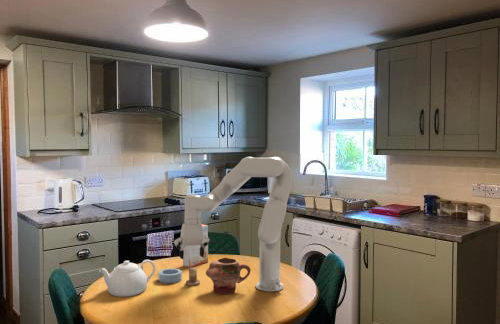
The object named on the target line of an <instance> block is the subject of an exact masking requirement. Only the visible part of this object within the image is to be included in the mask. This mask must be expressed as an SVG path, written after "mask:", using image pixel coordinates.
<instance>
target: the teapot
mask: <svg viewBox="0 0 500 324" xmlns="http://www.w3.org/2000/svg"><path fill="white" fill-rule="evenodd" d="M145 263H150V264H151V265H152V271H151V273H150V274H149V275H148V276H147V274H146V272H145V271H144V264H145ZM155 272H156V265H155V263H154V261H152V260H150V259H144V260H143V261H142V262H141V263H140V265H139V264H137V263H134V262H130V260H124V261H123V263H120V264H118V265H116V267H115V266H114V268H113V270H112V271H111V272H110V273H109V272H108V270H107V269H106V268H103V267H100V269H99V270H98V273H102V276H103V281H104V283H105V285H106V287H107V291H108V293H109V294H110V295H112V296H113V297H121V298H124V297H133V296H136V295H139V294H142V293H143V292H145V291H146V289H147V287H148V283H149V280H150V279H151V278H152V276H153V275H154V274H155Z"/></svg>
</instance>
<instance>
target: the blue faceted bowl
mask: <svg viewBox="0 0 500 324" xmlns="http://www.w3.org/2000/svg"><path fill="white" fill-rule="evenodd" d="M157 273H158V277H157V278H158V282H159V283H160V284H167V285H170V284H172V285H173V284H176V283H179V282H181V281H182V278H183V271H182V270H181V269H180V268H173V267H172V268H164V269H161V270H159V271H158V272H157Z"/></svg>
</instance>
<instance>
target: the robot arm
mask: <svg viewBox="0 0 500 324" xmlns="http://www.w3.org/2000/svg"><path fill="white" fill-rule="evenodd" d="M251 178H272V179H273V181H272V185H271V189H270V192H269V196H268V199H267V201H266V203H265V204H264V207H263V211H262V215H261V220H260V222H259V226H258V230H257V236H258V239H259V261H258V262H259V263H258V264H259V266H258V267H259V268H258V269H259V270H258V273H259V274H258V280H259V281H258V282H257V283H255V288H256V289H257V290H259V291H263V292H269V293H270V292H271V293H273V292H279V291H281V290H283V288H284V284H283V282H281V238H282V237H281V235H282V234H281V233H282V232H281V231H282V228H283V225H284V221H285V217H286V213H287V204H288V201H289V197H290V192H291V188H292V185H293V184H292V183H293V175H292V171H291V169H290V167H289V165H288V164H287V163H286V162H285V161H284V159H282V158H281V157H279V156H273V157H253V156H246V157H244V158H242V159H241V160H240V162H239V163H237V164H236V166H234V167H233V168H232V170H230V171H229V172H228V173H227V174H225V176H224V177H223V178H222V180H221V182H220V183H219V184H218V185H217V186H216V187H214V188H213V189H212V190H211V191H210V192H209V193H208V194H206V195H204V196H203V195H202V196H201V195H199V194H194V193H193V194H192V193H191V194H187V195H186V196H185V197H184V222H183V224H182V226H181V231H180V237H178V238H176V239H175V240H174V241H173V243H174V246H175V247H176V248H177V249H178V250H179V251H178V252H179V253H178V254H179V258H180V259H181V260H183V259H184V251H183V249H184V247H185V246H195V245H200V246H201V247H200V256H201V257H203V255H204V248H205V247H206V246H207V245H208V246H209V243H210V240H211V239H210V238H209V236H208V237H205V236H203V228H202V222H203V221H204V218H203V217H201V216H202V212H204V213H211V212H213V211H214V210H216V209H217V208H218V207H220V205H221V204H222V203H223V202H225V200H226V199H228V198H229V197H230V196H231V195H233V194H234V193H236V192H237V191H238V190H239V189H240V188H241V187H242V186H243V185H244V184H245V183H247V181H249V180H250V179H251ZM203 239H206V241H205V242H204V243H203ZM179 243H180V245H179Z"/></svg>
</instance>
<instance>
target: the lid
mask: <svg viewBox="0 0 500 324" xmlns="http://www.w3.org/2000/svg"><path fill="white" fill-rule="evenodd" d="M197 271H198V269H197V268H196V267H190V268H189V267H188V279H187V280H186V281H185V285H186V286H188V287H196V286H199V285H200V283H201V281H200V280H199V279H198V275H197V274H198V272H197Z"/></svg>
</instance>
